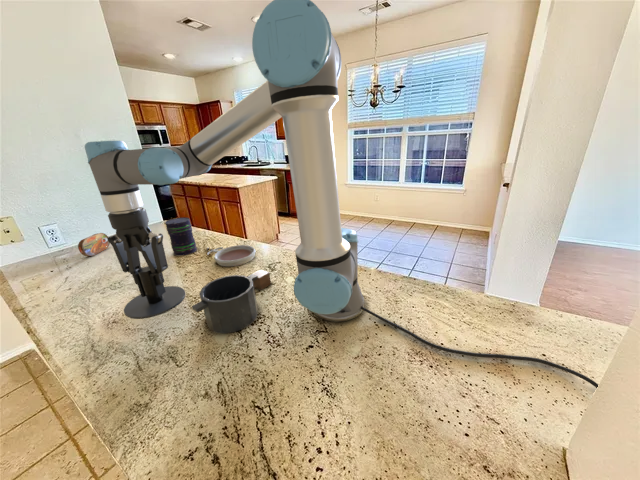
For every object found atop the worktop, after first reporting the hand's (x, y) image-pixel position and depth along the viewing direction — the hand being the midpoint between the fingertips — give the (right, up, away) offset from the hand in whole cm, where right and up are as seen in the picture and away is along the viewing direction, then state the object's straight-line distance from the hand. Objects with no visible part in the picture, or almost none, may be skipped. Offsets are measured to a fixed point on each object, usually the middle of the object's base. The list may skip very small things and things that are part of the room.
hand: (153, 294), depth 71 cm
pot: (+21, -7, +3) cm, 22 cm away
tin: (-62, +9, +55) cm, 84 cm away
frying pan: (+5, +8, +43) cm, 44 cm away
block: (+25, -1, +18) cm, 31 cm away
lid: (0, -2, +1) cm, 3 cm away
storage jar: (-17, +9, +50) cm, 54 cm away
